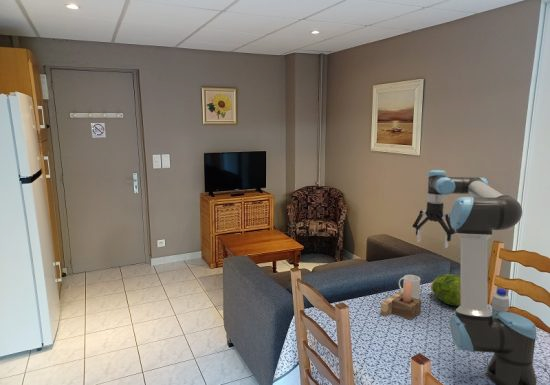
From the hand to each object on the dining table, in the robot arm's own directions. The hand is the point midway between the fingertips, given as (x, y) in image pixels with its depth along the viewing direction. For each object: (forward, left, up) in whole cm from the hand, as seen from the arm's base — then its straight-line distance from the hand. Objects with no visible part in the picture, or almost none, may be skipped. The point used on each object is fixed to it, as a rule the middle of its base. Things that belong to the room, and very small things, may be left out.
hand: (432, 244), depth 193 cm
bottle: (-5, -33, -32) cm, 46 cm away
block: (-16, +4, -32) cm, 36 cm away
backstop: (-16, +10, -32) cm, 37 cm away
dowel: (-16, +4, -31) cm, 35 cm away
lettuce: (+12, -6, -32) cm, 35 cm away
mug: (+1, +11, -32) cm, 34 cm away
